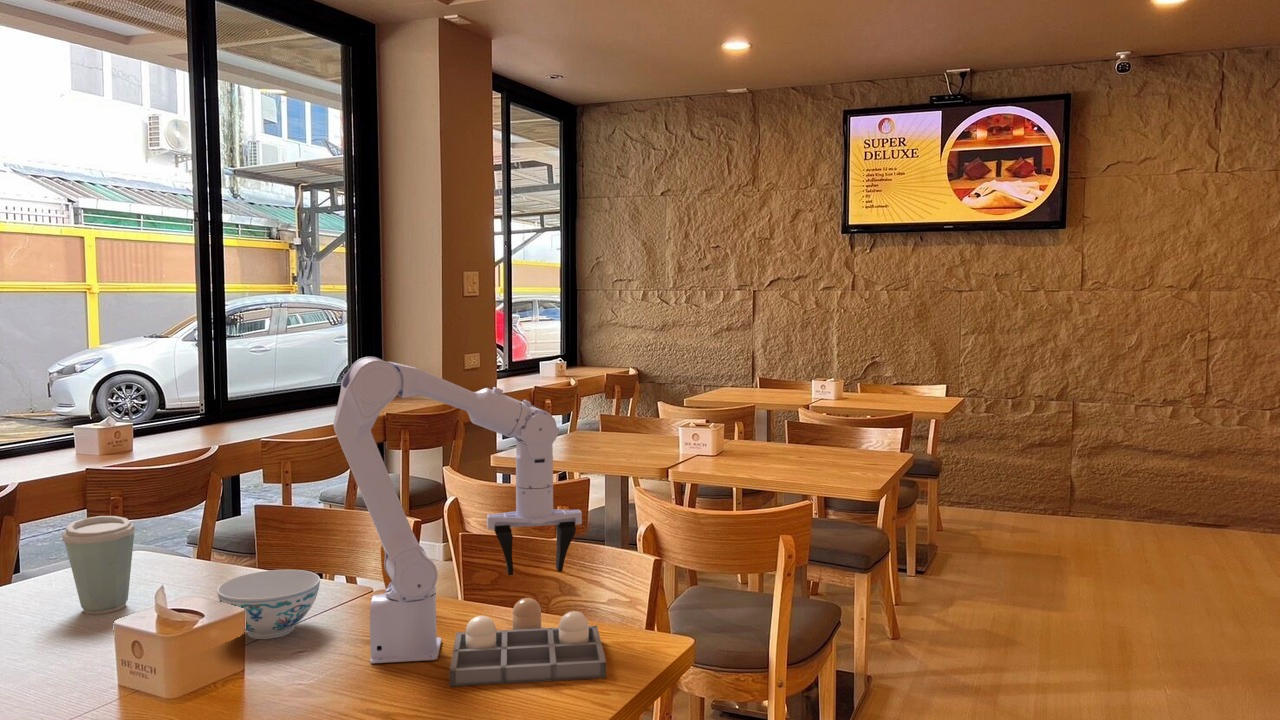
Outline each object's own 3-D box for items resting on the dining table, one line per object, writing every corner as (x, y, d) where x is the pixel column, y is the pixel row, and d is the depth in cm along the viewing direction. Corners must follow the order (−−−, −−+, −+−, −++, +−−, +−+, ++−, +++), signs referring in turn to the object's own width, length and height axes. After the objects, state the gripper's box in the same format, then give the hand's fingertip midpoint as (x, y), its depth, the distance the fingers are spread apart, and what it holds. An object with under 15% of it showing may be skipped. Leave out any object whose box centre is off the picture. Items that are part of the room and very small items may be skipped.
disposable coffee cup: (151, 605, 158) (148, 519, 157) (86, 624, 149) (82, 532, 148) (118, 595, 164) (114, 511, 163) (53, 612, 155) (48, 524, 154)
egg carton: (449, 686, 125) (449, 644, 125) (456, 646, 139) (455, 609, 139) (606, 677, 128) (606, 636, 127) (597, 639, 142) (596, 602, 142)
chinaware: (308, 609, 156) (307, 564, 156) (332, 636, 144) (331, 587, 143) (211, 626, 148) (209, 579, 148) (228, 657, 136) (226, 605, 135)
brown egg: (512, 638, 143) (512, 603, 142) (513, 628, 147) (512, 594, 147) (541, 636, 143) (541, 602, 143) (540, 626, 148) (540, 593, 147)
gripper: (489, 492, 137) (490, 582, 138) (585, 488, 141) (585, 575, 142) (485, 483, 144) (486, 569, 145) (577, 479, 148) (577, 563, 149)
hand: (534, 571), depth 144 cm, fingers open, 7 cm apart
